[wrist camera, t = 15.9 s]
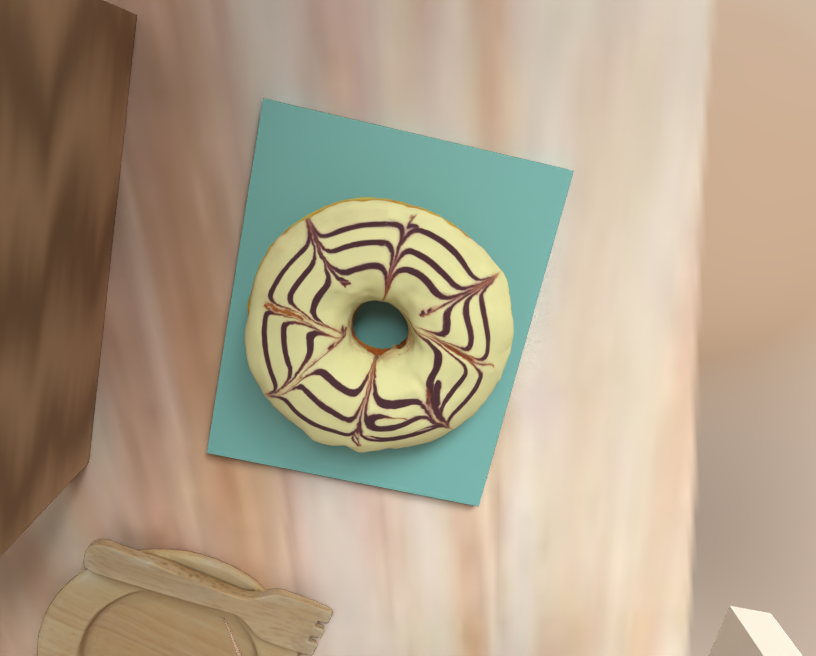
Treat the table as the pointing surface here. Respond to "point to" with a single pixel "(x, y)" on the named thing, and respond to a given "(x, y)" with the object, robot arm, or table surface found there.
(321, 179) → the mat
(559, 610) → the table surface
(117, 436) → the table surface
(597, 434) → the table surface
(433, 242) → the decorated donut
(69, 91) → the box
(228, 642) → the tableware set
